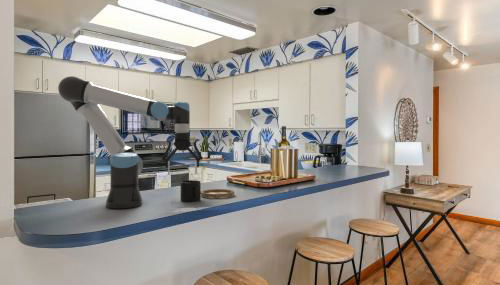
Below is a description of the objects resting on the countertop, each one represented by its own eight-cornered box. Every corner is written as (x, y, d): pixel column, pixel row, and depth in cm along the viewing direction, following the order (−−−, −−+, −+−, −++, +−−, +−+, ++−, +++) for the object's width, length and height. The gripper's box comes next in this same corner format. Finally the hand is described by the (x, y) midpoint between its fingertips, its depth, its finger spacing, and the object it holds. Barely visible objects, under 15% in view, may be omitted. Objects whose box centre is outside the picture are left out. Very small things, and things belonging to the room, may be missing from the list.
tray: (203, 199, 150) (203, 194, 150) (199, 193, 166) (199, 189, 166) (237, 197, 155) (237, 193, 155) (230, 192, 171) (230, 188, 171)
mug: (186, 203, 139) (186, 183, 139) (177, 199, 149) (177, 181, 149) (205, 201, 144) (206, 182, 144) (196, 197, 154) (196, 179, 154)
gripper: (156, 132, 151) (156, 175, 151) (207, 132, 157) (207, 173, 157) (157, 132, 158) (157, 174, 158) (205, 132, 165) (206, 172, 165)
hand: (182, 174), depth 158 cm, fingers open, 13 cm apart
